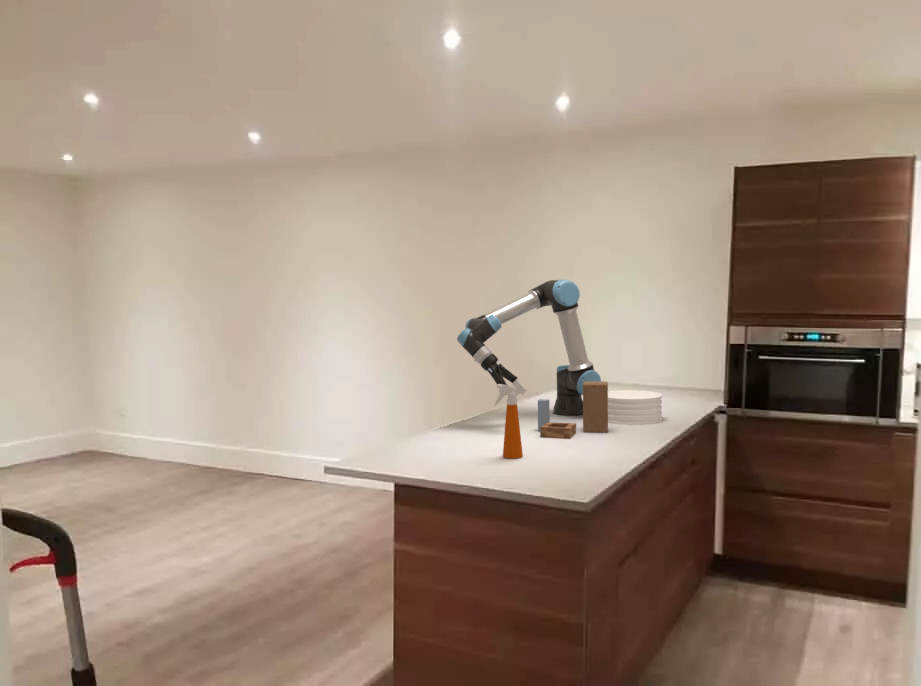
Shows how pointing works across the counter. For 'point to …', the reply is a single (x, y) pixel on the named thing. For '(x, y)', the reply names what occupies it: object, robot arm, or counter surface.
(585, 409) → the wooden block
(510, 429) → the spray bottle
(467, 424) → the counter surface
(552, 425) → the square wooden frame
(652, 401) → the plate stack
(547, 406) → the tall blue pillar
